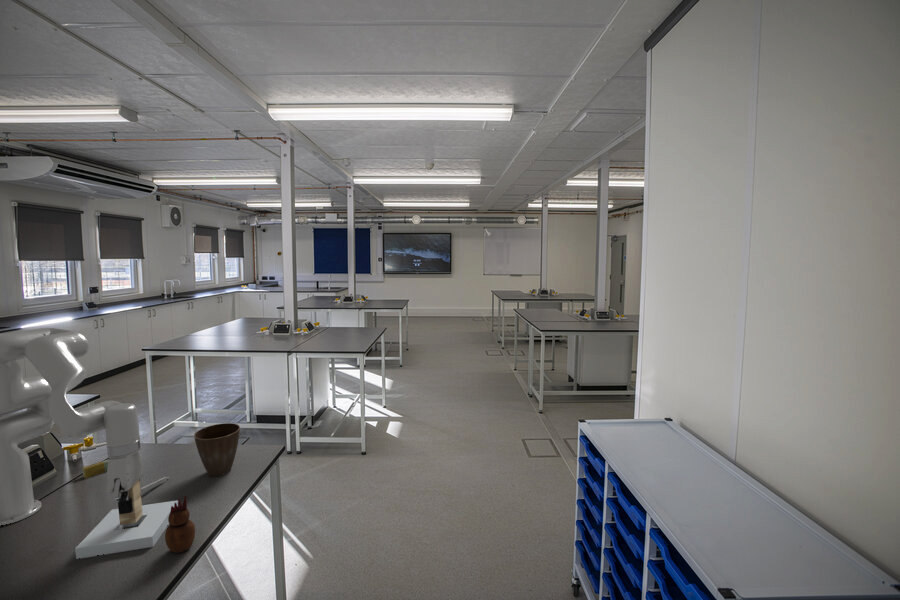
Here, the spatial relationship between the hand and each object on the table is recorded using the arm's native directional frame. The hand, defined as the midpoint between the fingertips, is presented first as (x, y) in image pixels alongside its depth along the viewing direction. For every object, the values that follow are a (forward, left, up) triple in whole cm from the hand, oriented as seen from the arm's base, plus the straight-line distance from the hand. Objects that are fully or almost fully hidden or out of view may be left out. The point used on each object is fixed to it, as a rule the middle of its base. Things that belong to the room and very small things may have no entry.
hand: (130, 507), depth 120 cm
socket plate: (0, 0, -8) cm, 8 cm away
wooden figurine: (+17, -12, -8) cm, 22 cm away
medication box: (-29, +45, -8) cm, 54 cm away
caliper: (-5, +22, -8) cm, 24 cm away
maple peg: (0, 0, -4) cm, 4 cm away
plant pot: (+15, +32, -8) cm, 36 cm away
